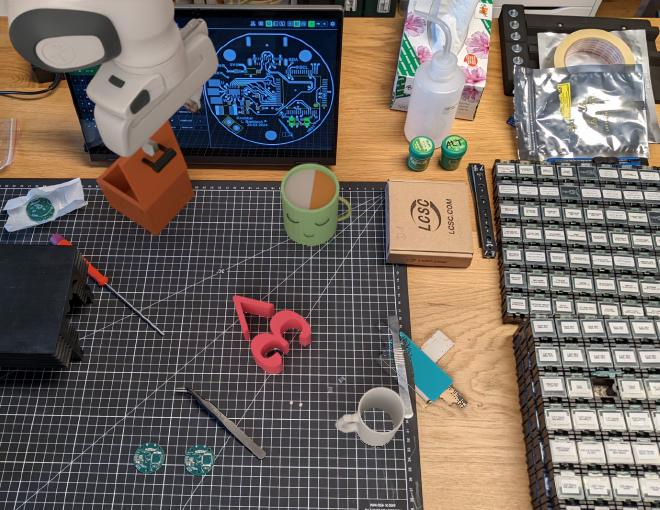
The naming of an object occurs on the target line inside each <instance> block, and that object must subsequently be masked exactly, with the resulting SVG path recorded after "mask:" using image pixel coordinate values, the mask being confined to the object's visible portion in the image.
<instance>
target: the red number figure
mask: <svg viewBox="0 0 660 510" xmlns="http://www.w3.org/2000/svg"><path fill="white" fill-rule="evenodd" d="M232 300H233V304H234V308H235V310H236V314H237V317H238V320H239V323H240V327H241V330H242V333H243V337H244V339H245V342H246V341H247V340H248V339H249V338H250V337H251V335H250V330H249V326H248V324H247V321H246V317H245V313H243V312H247V313H251V314H255V315H260V316H264V317H268V318H271V317H272V316H273V315H274V314H275V315H274V316H273V317H272V319H270V322H269V327H270V333H268V332H263V333H259V334H257V335H256V336H254V337H253V339H251V343H250V350H251V354H252V357H253V360H255V361H254V363H255V362H256V363H257V364H258V366H259V367H261V368H262V369H263V370H264V371H266V372H267V373H270V374H278V373H280V372H281V371H282V370H283V371H284V363H283V359H282V356H281V355H280V353H279V351H277V352H276V353H274V354H273V355H271V356H270V357H264V355H265V354H266V353H267V352H268V351H269V350H271V349H274V348H278V349H280V350H282V351H283V352H284V353H285V354H287V353H288V352H289V351H290V344H289V342H288V341H287V340H286V339H285V338H284V335H283V333H284V332H285V331H286V330H288V329H290V328H296V329H298V330H300V331H301V332H302V333H300V334H299V335H298V338H299V339H298V340H299V345H300V344H301V345H304V346H306V345H308V344H309V343H310V342H311V343H312V328H311V326H310V324H309V323H308V321H307V320H306V319H305V318H304V317H303V316H302V315H301V314H300V313H297V312H295V311H294V310H289V309H284V310H283V309H282V310H280V311H278V312H276V313H275V305H274V303H271V302H266V301H263V300H258V299H255V298H254V299H253V298H250V297H244V296H241V295H236V294H235V295H233V296H232ZM282 335H283V337H282ZM256 363H255V364H256ZM257 364H256V365H257ZM258 366H257V367H258ZM259 367H258V368H259ZM264 371H263V372H264ZM267 373H266V374H267Z"/></svg>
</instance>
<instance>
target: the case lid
mask: <svg viewBox="0 0 660 510" xmlns="http://www.w3.org/2000/svg"><path fill="white" fill-rule="evenodd" d="M169 120H170V119H168V120H167V121H166V122H165V123H164V124H163V125H162V126H161V127H160V128H159V129H158V130H157V131H156V132H155V133H154V134H153V135H152V136H151V137H150V138H149V139H151V141H155V142H156V143H157V145H158V148H159V150H158V151H157V152H156V153H155V154H154V155H153V156H150V155H148V154H147V153H145V152H144V151H143V149H142V147H140V148H139V149H138V150H137V151H136V152H135V153H134V154H133V155H132V156H131V157H125V158H124V159H123V160H122V161H121V162H120V163H119V164H118V165H119V167H120V168H121V170H122V172H123V174H124V176H125V177H126V179H127V181H128V183H129V185H130V187H131V188H132V190H133V192H134V194H135V196H136V197H137V199H138V201H139V203H140V205H141V206H142V208H143V209H144V210H145V211H147V210H148V209H149V207H150V206H151V205H152V204H153V203H154V202H155V201H156V200H157V199H158V198H159V197H160V196H161V195H162V194H163V193H164V192H165V191H166V190H167V189H168V188H169V187H170V186H171V185H172V184H173V182H174V181H175V180H176V179H177V178H178V177H179V176H180V175H181V174H182V173H183V172H184V171H185V170H186V169H187V170H188V165H187V163H186V161H185V158H184V155H183V153H182V151H181V148H180V145H179V143H178V140H177V138H176V136H175V133H174V130H173V128H172V125H171V123H170V121H169Z"/></svg>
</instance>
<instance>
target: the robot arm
mask: <svg viewBox="0 0 660 510" xmlns="http://www.w3.org/2000/svg"><path fill="white" fill-rule="evenodd" d="M6 7H7V8H6V9H7V24H8V38H9V42H10V43H11V46H12V47H13V49H14V50H15V51H16V53H17V54H18V55H19V56H20V57H21V58H22V59H24V60H25V61H27V62H28V63H29V64H32V65H33V66H35V67H37V68H39V69H42V70H44V71H48V72H51V73H60V74H62V73H63V74H64V73H73V72H78V71H83V70H86V69H90V68H94V67H97V66H99V68H98V70H97V72H96V73H95V75H93V78H92V79H91V81H90V82H89V83H88V85H87V87H86V90H85V91H86V95H87V97H88V98H89V100H91V101H92V103H94V104H95V105H94V109H93V116H94V121H95V124H96V128H97V130H98V132H99V135H100V138H101V140H102V142H103V144H104V146H105V147H106V148H108V150H110V151H112V153H115V154H116V155H118V156H119V157H120V156H122V157H131V156H132V155H133V154H134V153H135V152H136V151H137V150H138V149H139V148H140V147H142V149H143V151H144V152H145V153H147V154H148V155H150V156H153V155H154V154H155V153H156V152H157V151H158V150H159V148H158V145H157V143H156V142H155V141H151V139H149V138H150V137H151V136H152V135H153V134H154V133H155V132H156V131H157V130H158V129H159V128H160V127H161V126H162V125H163V124H164V123H165V122H166V121H167V120H170V119H171V118H172V116H174V114H176V113H177V112H178V111H179V110H180V108H182V107H183V106H184V107H185V109H186V110H187V111H188V112H191V113H192V114H196V113H197V112H198V111H199V110H200V109H201V107H202V105H201V101H200V100H201V98H202V93H203V89H204V84H206V83H207V82H208V81H209V80H210V79H212V77H213V76H214V75H215V74H216V73H217V71H218V68H219V58H218V54H217V52H216V49H215V46H214V44H213V41H212V40H211V38H210V37H209V30H208V26H207V23H206V21H205V19H203V18H198V19H196V18H192V19H190V21H188V23H187V24H186V25H185V26H184V27H183V28H181V29H180V28H179V26H178V24H177V22H176V21H175V19H174V18H175V5H174V1H173V0H6Z"/></svg>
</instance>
